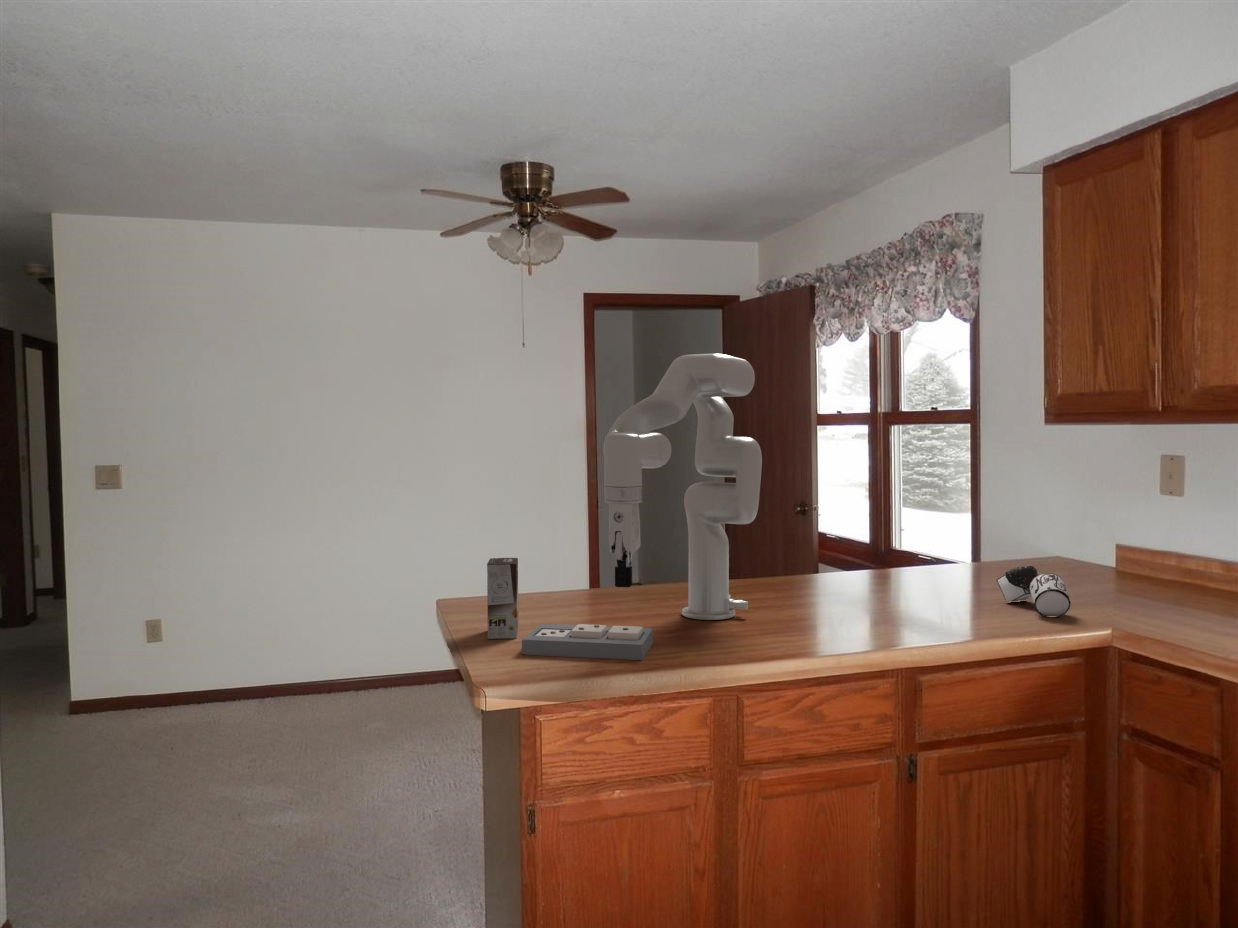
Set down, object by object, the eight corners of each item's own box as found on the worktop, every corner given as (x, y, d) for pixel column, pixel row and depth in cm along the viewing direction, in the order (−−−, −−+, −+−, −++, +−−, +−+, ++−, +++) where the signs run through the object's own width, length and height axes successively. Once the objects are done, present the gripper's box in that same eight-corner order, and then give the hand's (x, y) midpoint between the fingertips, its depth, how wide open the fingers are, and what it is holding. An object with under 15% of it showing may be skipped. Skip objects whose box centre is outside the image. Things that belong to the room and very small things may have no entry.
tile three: (571, 639, 186) (570, 629, 186) (563, 646, 180) (563, 635, 180) (542, 638, 187) (542, 628, 187) (534, 645, 181) (534, 634, 181)
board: (652, 642, 187) (652, 628, 187) (642, 660, 173) (642, 644, 173) (541, 637, 192) (541, 623, 191) (522, 654, 178) (521, 639, 178)
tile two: (606, 634, 185) (606, 624, 185) (600, 641, 179) (600, 630, 179) (578, 633, 186) (578, 623, 186) (571, 640, 180) (571, 629, 180)
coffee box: (517, 638, 191) (517, 563, 190) (487, 639, 190) (486, 563, 190) (518, 629, 200) (518, 557, 199) (489, 629, 200) (489, 557, 199)
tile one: (642, 636, 183) (642, 625, 183) (637, 643, 178) (637, 632, 177) (613, 635, 185) (613, 624, 184) (608, 642, 179) (608, 631, 179)
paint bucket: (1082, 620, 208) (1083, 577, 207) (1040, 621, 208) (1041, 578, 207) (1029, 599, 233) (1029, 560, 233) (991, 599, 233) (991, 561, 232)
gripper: (635, 498, 172) (635, 594, 173) (647, 492, 186) (648, 580, 187) (596, 498, 173) (597, 592, 174) (612, 491, 188) (612, 579, 189)
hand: (623, 586), depth 181 cm, fingers closed
